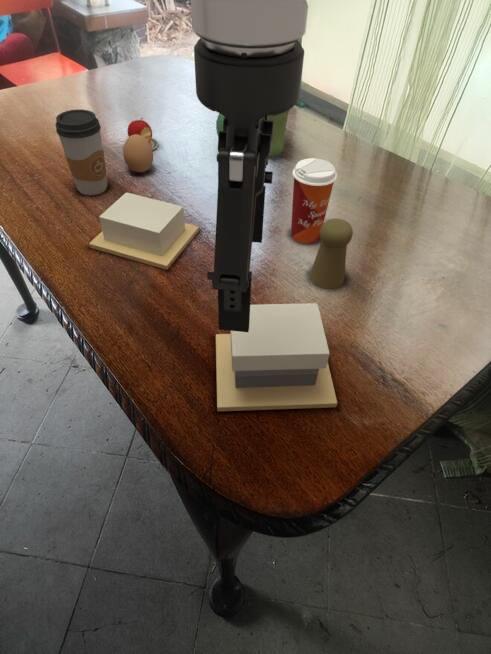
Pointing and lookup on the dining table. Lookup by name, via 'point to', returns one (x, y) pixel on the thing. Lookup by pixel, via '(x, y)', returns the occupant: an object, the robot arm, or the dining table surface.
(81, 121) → the coffee cup
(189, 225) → the cream box
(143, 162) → the egg
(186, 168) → the dining table surface
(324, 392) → the grey stack
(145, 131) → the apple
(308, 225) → the paper cup
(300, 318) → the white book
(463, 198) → the dining table surface
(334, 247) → the pepper shaker
